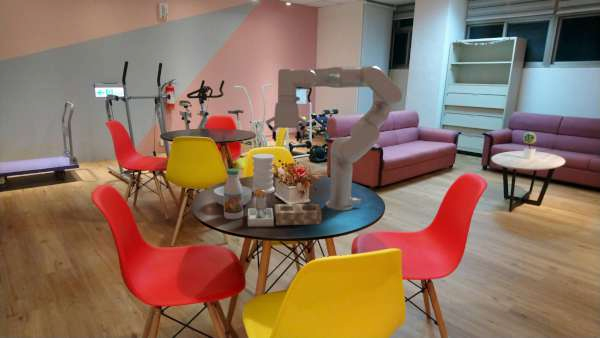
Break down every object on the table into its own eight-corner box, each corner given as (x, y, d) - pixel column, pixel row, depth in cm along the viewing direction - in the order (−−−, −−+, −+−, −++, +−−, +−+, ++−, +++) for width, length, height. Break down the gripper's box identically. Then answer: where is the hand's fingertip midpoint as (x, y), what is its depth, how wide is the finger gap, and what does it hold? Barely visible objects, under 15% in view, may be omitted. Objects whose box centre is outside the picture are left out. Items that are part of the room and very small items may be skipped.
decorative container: (249, 193, 184) (248, 157, 179) (254, 186, 195) (254, 153, 191) (272, 194, 183) (272, 159, 178) (276, 187, 194) (276, 154, 189)
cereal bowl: (249, 212, 159) (249, 196, 157) (210, 211, 159) (209, 195, 157) (253, 199, 175) (253, 185, 173) (218, 198, 175) (218, 184, 173)
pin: (265, 216, 152) (265, 188, 149) (265, 220, 148) (266, 191, 145) (255, 216, 152) (255, 188, 149) (255, 220, 148) (255, 191, 145)
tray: (272, 214, 156) (272, 208, 156) (273, 226, 145) (273, 218, 144) (248, 215, 155) (248, 208, 154) (247, 226, 144) (247, 219, 143)
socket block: (317, 214, 158) (317, 201, 156) (321, 224, 148) (321, 209, 147) (274, 215, 156) (274, 202, 154) (276, 225, 146) (276, 210, 145)
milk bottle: (220, 216, 154) (219, 169, 149) (235, 211, 159) (235, 166, 154) (231, 221, 148) (230, 173, 143) (246, 216, 154) (246, 170, 149)
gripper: (306, 99, 157) (305, 139, 161) (265, 98, 155) (265, 139, 159) (309, 101, 150) (307, 142, 154) (266, 100, 148) (266, 142, 152)
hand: (286, 141), depth 156 cm, fingers open, 9 cm apart
